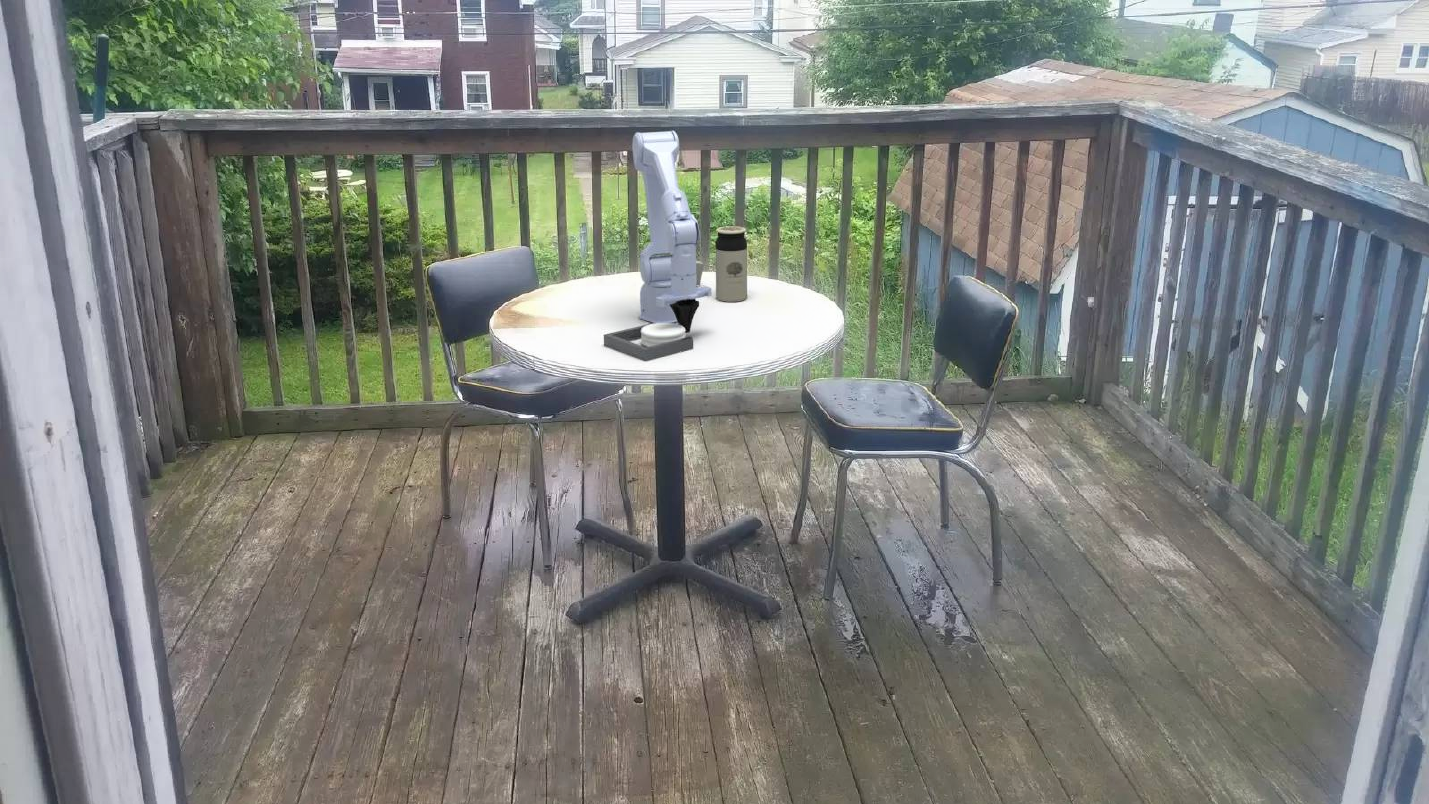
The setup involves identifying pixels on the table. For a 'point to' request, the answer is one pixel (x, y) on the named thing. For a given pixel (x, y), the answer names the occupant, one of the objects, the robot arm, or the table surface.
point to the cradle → (623, 344)
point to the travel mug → (731, 264)
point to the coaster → (661, 333)
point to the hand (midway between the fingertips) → (684, 331)
